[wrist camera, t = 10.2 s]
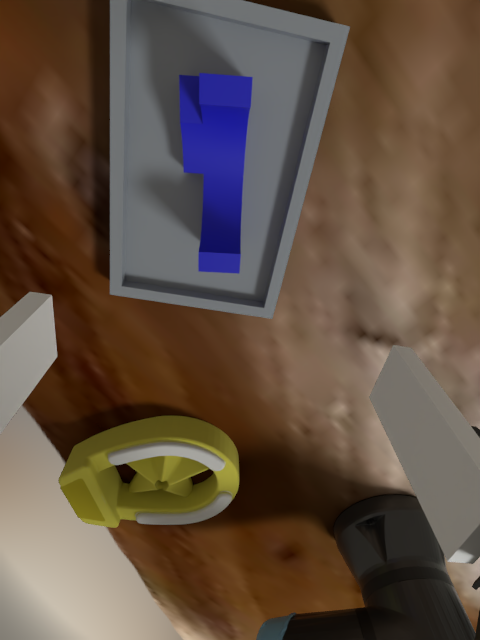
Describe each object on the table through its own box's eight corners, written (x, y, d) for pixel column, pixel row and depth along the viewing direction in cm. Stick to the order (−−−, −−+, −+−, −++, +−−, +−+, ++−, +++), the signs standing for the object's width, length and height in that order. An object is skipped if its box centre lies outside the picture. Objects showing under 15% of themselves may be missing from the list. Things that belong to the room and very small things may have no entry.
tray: (270, 308, 36) (272, 318, 34) (116, 284, 34) (109, 294, 32) (341, 32, 25) (349, 26, 23) (119, -23, 23) (110, -33, 21)
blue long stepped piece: (184, 77, 25) (172, 70, 20) (248, 82, 25) (252, 76, 20) (186, 243, 31) (177, 270, 26) (238, 246, 32) (239, 273, 26)
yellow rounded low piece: (61, 424, 44) (42, 458, 40) (230, 407, 43) (229, 440, 39) (103, 504, 52) (91, 539, 48) (245, 491, 51) (246, 526, 47)
